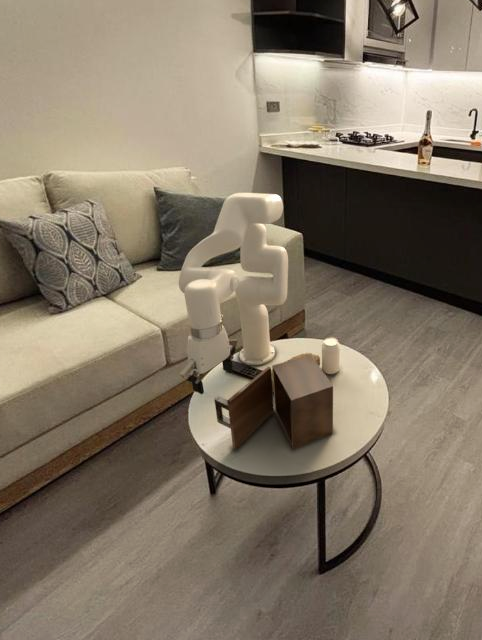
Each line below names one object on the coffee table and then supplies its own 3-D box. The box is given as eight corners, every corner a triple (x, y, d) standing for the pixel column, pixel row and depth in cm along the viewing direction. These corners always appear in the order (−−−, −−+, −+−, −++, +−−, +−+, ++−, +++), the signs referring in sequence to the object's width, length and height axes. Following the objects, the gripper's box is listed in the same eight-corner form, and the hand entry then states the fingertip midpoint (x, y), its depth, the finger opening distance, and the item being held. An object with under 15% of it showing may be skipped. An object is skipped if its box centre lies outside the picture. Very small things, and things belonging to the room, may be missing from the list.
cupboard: (293, 449, 112) (291, 400, 105) (275, 411, 124) (272, 365, 118) (332, 433, 117) (333, 386, 111) (311, 398, 130) (310, 354, 124)
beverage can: (336, 363, 147) (336, 334, 143) (341, 373, 142) (342, 344, 137) (319, 366, 145) (319, 338, 140) (324, 377, 140) (324, 348, 135)
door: (214, 438, 114) (208, 391, 107) (254, 402, 127) (250, 358, 121) (235, 449, 111) (230, 401, 104) (273, 412, 124) (271, 367, 117)
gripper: (223, 308, 111) (229, 359, 118) (165, 339, 97) (176, 395, 104) (242, 316, 107) (248, 368, 114) (186, 349, 94) (196, 406, 100)
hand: (214, 381), depth 109 cm, fingers open, 9 cm apart
